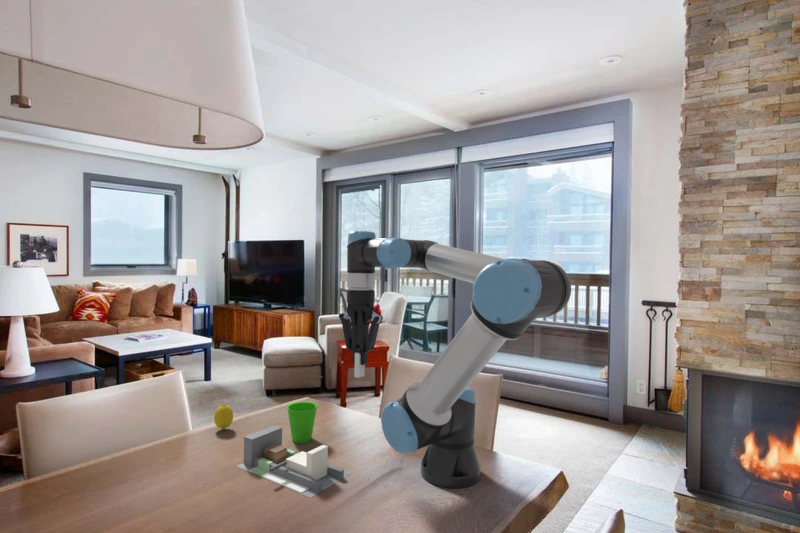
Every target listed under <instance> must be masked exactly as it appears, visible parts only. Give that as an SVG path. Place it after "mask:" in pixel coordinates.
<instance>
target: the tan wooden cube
mask: <svg viewBox="0 0 800 533" xmlns="http://www.w3.org/2000/svg"><path fill="white" fill-rule="evenodd" d="M287 449H288V446H284V445H279V444H274V445H272V446H269V447H267V448H265V449H264V459H267V460H270V461H272V462H273V463H275V464H277V465H278V464H280V463H282V462H284V461H286V459H287Z"/></svg>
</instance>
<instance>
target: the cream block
mask: <svg viewBox="0 0 800 533" xmlns="http://www.w3.org/2000/svg"><path fill="white" fill-rule="evenodd" d="M296 453H297V454H295V455H293V456H291V457H289V458H287V459H286V461H284V462H282V463H280V464H278V465H275V466H273V467H271V468H270V471H273V470H275V469H278V468H280V467H282V466H284V465H286V468H288V469H290V470H293V471H295V472H298V473H300V474H303V475H305V476H308V477H311V478H313V479H316V480H319V479H320V478H322V477H324V476H326V475H327V466H328V464H329V463H328V458H329V456H328V454H329V446H328V445H325V444H322V445H320V446H319V445H318V446H317V447H316V448H313V449H311V450H309V451H307V452H306V451H303V450H301V451H300V452H296Z"/></svg>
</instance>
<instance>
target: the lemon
mask: <svg viewBox="0 0 800 533" xmlns="http://www.w3.org/2000/svg"><path fill="white" fill-rule="evenodd" d="M213 420H214V424H215V425H216V427H217V428H219V429H221V430H223V431H225V430H226V429H227V428H228V427H230V426H231V425H232V423H233V421H234V412H233V409H232V407H231V406H229V405H227V404H224V403H223V404H222V405H220V406H218V407H217V409H216V410H215V412H214V417H213Z"/></svg>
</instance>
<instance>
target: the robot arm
mask: <svg viewBox="0 0 800 533" xmlns="http://www.w3.org/2000/svg"><path fill="white" fill-rule="evenodd" d="M346 249H347V250H346V251H347V252H346V254H347V256H346V258H347V259H346V261H347V266H346V268H347V269H346V270H347V271H346V272H347V273H346V287H347V288H348V289H347V291H346V303H347V306H346V308H345V311H343V313H339V314H338V318H339V319H340V321H341V325H342V331H343V337H344V342H345V348H346V349H347V350H350V351H351V352H352V358H351V359H352V361H351V362H352V364H353V365H354V378H357V379H358V378H363V377H365V370H366V365H367V364H368V353H369V352H372V351H374V350H375V346H376V341H377V337H378V332H379V327H380V324H381V322H382V321H383V319H384V317H383V316H382V315H379V314H378V313H376V309H375V302H376V301H375V299H376V298H375V297H376V295H375V294H376V291H375V290H374V288H375V287H376V268H382V269H384V268H385V269H400V268H402V269H403V268H406V269H409V268H412V269H414V268H415V269H417V268H418V269H422V270H425V271H429V272H433V273H436V274H440V275H443V276H447V277H450V278H452V279H453V278H454V279H456V280H460V281H462V282H463V281H464V282H468V283H470V284H473V288H472V290H473V294H472V300H471V301H470V304H469V305H470V306H469V307H470V310H471V315H470V316H469V317H468V318H467V320H466V321H465V322H464V324H463V325H462V326H461V327H460V329H459V330H458V332H457V333H456V335H454V337H453V338H452V340H451V341H450V342H449V343H448V345H447V347H446V348H445V349H444V351H443V352H442V353H441V354H440V355H439V357H438V359H437V360H436V361H435V362H434V364H433V365H432V367H431V368H429V371H428V372H427V373H426V374H425V376H424V377H423V378H422V380H421V381H416V382H413V383H411V384H410V385H409V386H408V388H407V389H405V391H404V393H403V395H402V396H401V397H400V398H399V399H398V400H392V401H390V402H388V403H386V404H385V405H384V407H383V408H382V411H381V414H380V415H381V417H380V421H381V422H380V423H381V430H382V433H383V435H384V438H385V441H387V443H388V444H389V446H390V447H391V448H392V449H393V450H394V451H395V452H397V453H398V452H399V453H400V454H405V455H406V454H408V453H409V454H410V453H416V451H417V450H420V449H422V448H425V451H424V453H423V457H422V459H421V463H420V474H421V476H422V478H423V479H424V480H426V481H427V482H429V483H431V484H433V485H435V486H439V487H442V488H443V487H444V488H451V489H459V488H460V489H462V488H467V487H471V486H473V485H475V484H477V483H478V482H479V480H480V479H481V465H480V462H479V459H478V455H477V451H476V448H475V427H476V426H475V425H476V424H475V423H476V419H475V418H476V405H477V404H476V403H477V402H476V392H475V390H474V389H473V388H472V387H471V386H470V385H471V383H472V382H473V381H474V380H475V379H476V377H477V376H478V375H479V374H480V373H481V371H483V369H484V368H485V367H486V366H487V365H488V364H489V362H490V361H491V359H492V358H493V357H494V356H495V355H496V354H497V352H498V351H499V350H500V349H501V347H502V346H503V345H504V344H505V342H506V341H508V340H509V341H515V340H518V339H519V338H520V337H522V335H523V333H524V332H525V331H526V330H527V329H528V328H529V326H530V325H531V324H532V323H533V322H534V321H535V320H536V319H541V318H542V319H543V318H549V317H551V316H554V315H556V314H558V313H560V312H561V311H563V309H564V308H565V307H566V306H567V304H568V303H569V302H570V299H571V296H572V283H571V279H570V277H569V274H567V272H566V271H565V269H564V268H563V267H561V266H560V265H558V264H557V263H555V262H552V261H549V260H544V259H543V260H539V259H538V260H537V259H536V260H534V259H528V258H501V257H497V256H492V255H488V254H486V253H485V254H484V253H481V252H476V251H471V250H467V249H463V248H458V247H453V246H448V245H446V244H442V243H441V244H440V243H439V242H437V241H433V240H429V239H424V240H420V239H409V238H408V239H406V238H401V237H397V236H396V237H395V236H394V237H392V236H390V237H384V238H382V237H381V238H379V237H378V238H377V237H376V233H375V232H373V231H370V230H369V231H365V230H364V231H363V230H359V231H358V230H354V231H350V232H349V233H348V235H347V245H346Z"/></svg>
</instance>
